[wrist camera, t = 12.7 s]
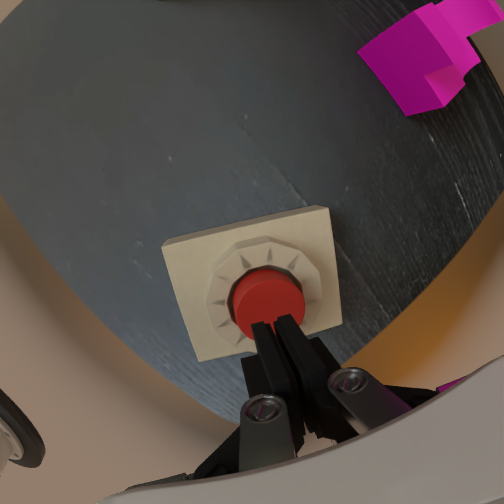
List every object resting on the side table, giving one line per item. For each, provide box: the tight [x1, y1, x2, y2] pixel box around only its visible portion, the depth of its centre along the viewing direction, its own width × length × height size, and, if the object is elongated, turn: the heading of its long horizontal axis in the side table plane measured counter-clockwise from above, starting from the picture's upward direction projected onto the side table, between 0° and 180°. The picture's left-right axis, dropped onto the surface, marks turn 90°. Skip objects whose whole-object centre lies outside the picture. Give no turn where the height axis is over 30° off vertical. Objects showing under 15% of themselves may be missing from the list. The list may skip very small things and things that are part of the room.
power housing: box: [161, 205, 342, 362], centre depth 17 cm, size 10×8×4 cm
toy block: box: [357, 0, 504, 116], centre depth 13 cm, size 15×6×8 cm, turn 132°
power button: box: [233, 269, 305, 340], centre depth 15 cm, size 4×4×2 cm
